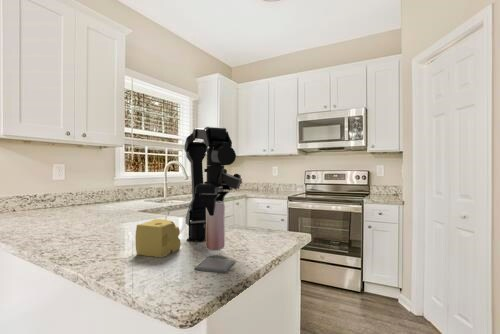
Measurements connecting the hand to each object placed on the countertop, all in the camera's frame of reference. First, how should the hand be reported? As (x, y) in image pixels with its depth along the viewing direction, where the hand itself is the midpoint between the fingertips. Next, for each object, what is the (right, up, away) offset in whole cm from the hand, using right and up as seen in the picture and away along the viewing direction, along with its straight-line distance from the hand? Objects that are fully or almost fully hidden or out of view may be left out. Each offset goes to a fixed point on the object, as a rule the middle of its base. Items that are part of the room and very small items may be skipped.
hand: (215, 214), depth 89 cm
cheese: (-19, -13, +3) cm, 24 cm away
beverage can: (0, -11, 0) cm, 11 cm away
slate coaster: (+1, -13, -9) cm, 16 cm away
